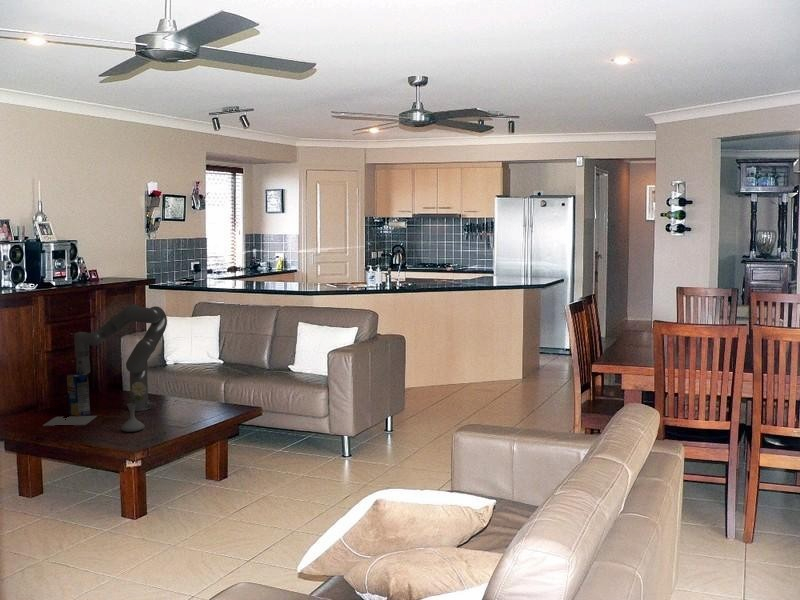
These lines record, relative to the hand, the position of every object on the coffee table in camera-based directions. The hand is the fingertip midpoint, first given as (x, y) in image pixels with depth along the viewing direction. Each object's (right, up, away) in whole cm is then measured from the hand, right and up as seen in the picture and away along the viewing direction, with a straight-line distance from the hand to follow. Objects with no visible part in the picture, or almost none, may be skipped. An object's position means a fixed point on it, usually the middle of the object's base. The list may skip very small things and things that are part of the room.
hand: (83, 386), depth 472 cm
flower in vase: (+43, -18, -45) cm, 64 cm away
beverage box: (+1, -15, -8) cm, 17 cm away
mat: (+1, -16, -23) cm, 28 cm away
